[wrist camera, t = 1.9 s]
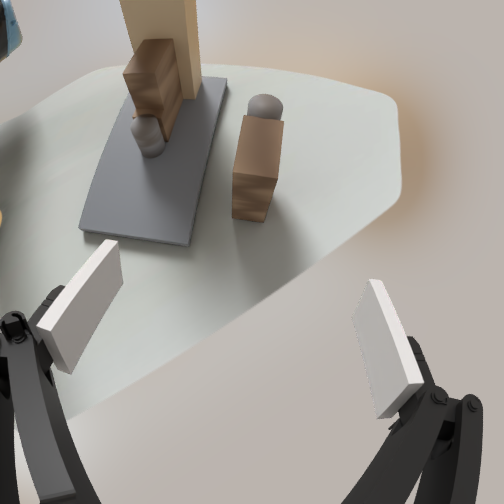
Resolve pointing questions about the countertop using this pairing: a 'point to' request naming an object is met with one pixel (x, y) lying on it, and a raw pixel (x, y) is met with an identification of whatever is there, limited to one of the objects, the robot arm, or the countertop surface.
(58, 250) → the countertop surface
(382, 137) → the countertop surface
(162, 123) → the fixed leaf
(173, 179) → the hinge frame
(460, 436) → the robot arm
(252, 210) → the brown wooden block
